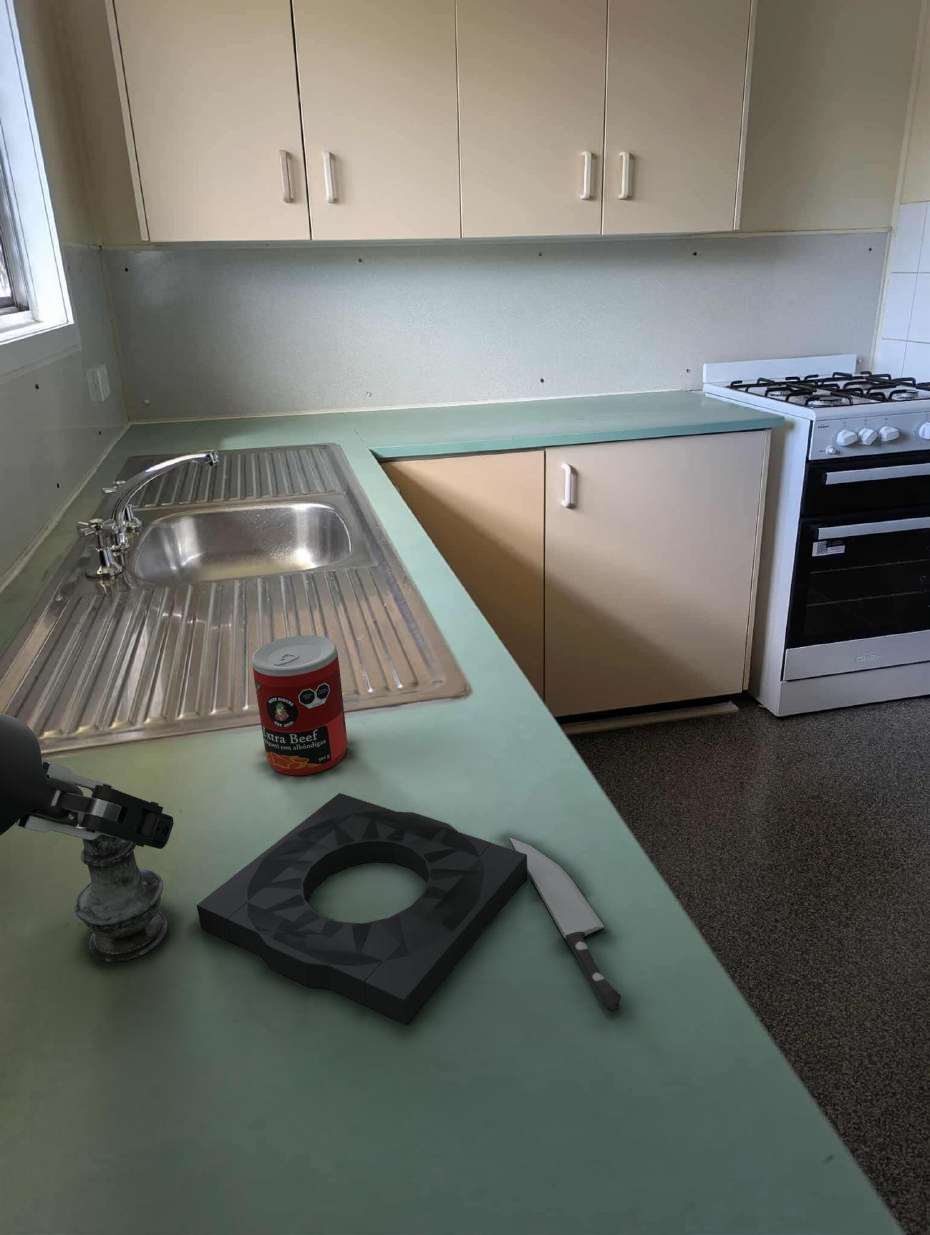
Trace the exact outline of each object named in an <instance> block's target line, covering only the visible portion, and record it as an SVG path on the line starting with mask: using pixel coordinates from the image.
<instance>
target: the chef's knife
mask: <svg viewBox="0 0 930 1235" xmlns="http://www.w3.org/2000/svg"><path fill="white" fill-rule="evenodd" d="M509 840H510V843H511V844H512V846H513V848H514V850H515V851H518V852H521V853H524V854H527V874H528V876H529V877H530V880H531V881H532V883H533V885H534V887H535V888H536V891H537V892H538V894H539V895H540V897H541V899H542V901H543V903H544V904H545V906H546V908H547V910H548V912H549V913H550V915H551V917H552V918H553V921H554V922H555V924H556V926H557V927H558V930H559V931H560V933H561V934H562V937H563V938H564V940H565V941H566V943H567V944H568V946H569V948H570V950H571V951H572V952H573V954H574V955H575V957H576V959H577V961H578V962H579V964H580V966H581V968H582V970H583V972H584V974H585V975H586V977H587V979H588V980H589V982H590V984H591V986H592V987H593V989H594V991H595V992H596V994H597V996H598V998H599V1000H600V1001H601V1003H602V1005H603V1006H604V1008H605V1009H607V1011H608V1012H615V1011H616V1010H618V1009H619V1007H620V1004H621V998H622V995H621V994H620V993H619V992H618V991H617V990H615V989H614V987H613V986H612V985H611V984H610V983H609V981H608V980H607V979H606V978H605V977H604V976H603V974H602V973H601V970H600V969H599V967H598V965H597V963H596V962H595V960H594V957H593V955H592V954H591V950H590V949H589V947H588V945H587V944H586V941H585V940H584V937H587V936H588V935H591V934H594V933H595V932H597V931H600V930H601V929H604V928H605V925H604V924H603V923H602V921H601V920H600V918H599V916H598V915H597V914H596V913H595V911H594V909H593V908H592V906H591V905H590V904H589V903H588V901H587V900H586V898H585V897H584V895H583V894H582V892H581V891H580V889H579V888H578V886H577V885H576V884H575V882H574V881H573V879H572V878H571V877H570V876H569V874H568V873H567V872H566V871H565V870H564V869H563V868H562V867H561V866H560V865H559V864H557V863H556V862H555V861H553V860H551V859H550V858H549V857H548V856H546V855H544V854H543V853H542V852H540V851H539V850H537V848H534V847H533V846H531V845H529V844H528V843H525V842H522V841H520V840H517V839H515V838H512V837H509Z"/></svg>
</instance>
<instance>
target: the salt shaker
mask: <svg viewBox="0 0 930 1235" xmlns="http://www.w3.org/2000/svg"><path fill="white" fill-rule="evenodd" d="M92 794H93V793H92V792H91V795H90V796H89V797H91V796H92ZM91 798H93V797H91ZM84 815H85V814H81V813H79V814H78V827H79V826H80V825H81V823H82V820H83V817H84ZM81 840H82V844H83V848H82V850H81V852H80V856H79V858H80V860H81V862H82V863H83V864H84V865H86V866H87V868H88V872H89V876H90V882H89V883H88V884H86V885H85V886H84V887H83V888H82V890H80V892H79V893H78V895H77V896H76V899H75V901H74V906H73V910H74V912H75V915H76V917H77V918H78V919H79V920H81V921H82V923H83V924H84V925H85V926H86V927H87V928H88V929H89V930H90V931H91V932H92V934H91V936H90V938H89V942H88V948H89V950H90V953H91V954H92V955H93V957H95V959H97V960H100V961H102V962H108V963H118V962H119V963H120V962H121V963H122V962H126V961H129V960H133V959H136V958H139V957H141V956H143V955H145V954H147V953H148V952H150V951H152V950H153V949H154V948H155V947H156V946H158V945H159V944H160V943H161V941H162V940H163V939H164V937H165V936H166V933H167V932H168V928H169V927H168V925H169V924H168V923H169V922H168V920H167V918H166V916H165V915H164V914H163V913H162V912H161V911H159V908H160V904H161V901H162V900H161V899H162V893H163V891H164V880H163V878H162V875H161V874H159V872H156V871H155V870H153V869H150V868H147V867H140V866H138V864H137V861H136V855H135V851H134V850H135V849H136V847H137V845H136V843H135V842H128V841H127V844H126V843H122V842H119V840H120V839H116V838H113V837H109V836H105V835H99V836H98V837H97V838H96V839H94V840H87V839H82V838H81Z"/></svg>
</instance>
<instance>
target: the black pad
mask: <svg viewBox="0 0 930 1235" xmlns="http://www.w3.org/2000/svg"><path fill="white" fill-rule="evenodd" d="M373 862H375V863H376V862H377V863H378V862H379V863H389V864H391V863H392V864H393V863H394V864H397V865H400V866H403V867H405V868H408V869H411V870H413V871H415V872H416V874H417V875H419V876H420V877H421V878H422V879H423V880H424V881H426V886H425V889H424V891H423V893H421V894H420V896H418V898H417V899H416V900H415V901H414V902H413V903H412V904H411V905H410V906H409V907H407V908H404V909H402V910H400V911H399V912H397V913H395V914H393V915H391V916H389V917H385V918H381V919H375V920H371V921H366V922H354V921H339V920H338V921H337V920H336V919H332V918H330V917H328V916H325V915H323V914H322V913H321V914H320V913H319V912H316V910H315V909H314V908H313V907H312V906H311V905H310V903H309V900H310V897H311V896H312V893H313V891H314V889H315V888H316V887H317V886H319V885H320V884H321V883H322V882H323V881H324V880H326V879H327V878H328V877H329V876H330V875H333V874H334V873H337V872H340V871H341V870H343V869H345V868H347V867H350V866H356V865H360V864H367V863H373ZM528 876H529V874H528V872H527V854H524V853H521V852H518V851H516V850H515V849H511V848H509V847H505V846H502V845H499V844H496V843H494V842H491V841H487V840H485V839H481V838H478V837H476V836H472V835H470V834H467V833H463V832H460V831H458V830H457V829H456V828H455V827H454V826H452V825H451V824H449V823H447V822H444V821H441V820H438V819H435V818H432V817H429V816H426V815H422V814H419V813H417V812H412V811H397V810H394V809H390V808H387V807H384V806H381V805H378V804H375V803H372V802H369V801H365V800H363V799H360V798H357V797H353V796H350V795H347V794H344V793H341V792H338V793H337V794H335V796H333V797H332V798H331V799H330V800H328V801H327V802H326V803H324V804H323V805H322V806H321V807H320V808H318V809H317V810H316V811H315V812H313V813H312V814H310V816H308V817H307V818H306V819H304V820H303V821H301V823H299V824H297V825H296V826H295V827H294V828H293V829H291V830H290V831H289V832H287V833H286V834H285V835H284V836H282V837H281V838H280V839H279V840H277V841H276V842H275V843H274V844H273V845H271V846H270V847H268V848H267V849H266V850H264V851H263V852H262V853H261V854H259V855H258V856H257V857H256V858H255V859H253V860H252V861H251V862H249V863H248V864H247V865H245V867H243V868H242V869H240V870H239V871H237V873H235V874H233V876H232V877H229V879H228V880H226V881H225V882H224V883H223V884H221V885H220V886H219V887H218V888H216V889H215V890H213V891H212V892H211V893H210V894H208V895H207V896H206V897H205V898H203V899H202V900H201V901H199V903H197V904H196V910H197V915H198V921H199V925H200V928H201V929H204V930H206V931H208V932H210V933H212V934H214V935H216V936H218V937H220V938H223V939H224V940H227V941H229V942H231V943H233V944H236V945H238V946H240V947H242V948H244V949H246V950H248V951H250V952H252V953H255V954H257V955H259V956H261V957H262V958H263V959H264V961H265V962H266V963H267V965H268V966H269V968H270V969H272V970H274V971H275V972H277V973H279V974H282V975H284V976H285V977H288V978H290V979H292V980H294V981H296V982H298V983H301V984H302V985H305V986H307V987H311V988H316V989H330V990H333V991H335V992H337V993H338V994H341V995H343V996H345V997H347V998H350V999H352V1000H354V1001H356V1002H358V1003H360V1004H362V1005H364V1006H367V1007H369V1008H371V1009H373V1010H375V1011H377V1012H379V1013H382V1014H383V1015H386V1016H387V1017H390V1018H392V1019H394V1020H396V1021H398V1022H401V1023H402V1024H404V1025H408V1024H409V1022H411V1020H412V1019H413V1017H414V1016H415V1015H416V1014H417V1013H418V1012H419V1010H420V1009H421V1007H423V1005H424V1004H425V1003H426V1001H427V1000H429V998H430V996H432V994H433V993H434V991H435V990H436V989H437V988H438V987H439V986H440V984H441V983H442V982H443V980H444V979H445V978H446V977H447V976H448V974H449V973H450V972H451V971H452V970H453V969H454V967H455V966H456V965H457V963H458V962H459V961H460V960H461V958H462V957H463V956H464V955H465V953H467V951H468V950H469V948H470V947H471V946H472V945H473V944H474V942H475V941H476V940H477V939H478V938H479V936H480V935H481V934H482V933H483V931H484V930H485V929H486V928H487V926H488V925H489V924H490V923H491V922H492V920H493V919H494V918H495V917H496V916H497V914H498V913H499V912H500V911H501V909H502V908H503V907H504V905H505V904H506V903H507V902H508V901H509V899H510V898H511V897H512V896H513V894H514V893H516V891H517V890H518V888H519V887H520V886H521V885H522V883H524V881H525V880H526V879H527V877H528Z"/></svg>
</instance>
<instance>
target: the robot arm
mask: <svg viewBox="0 0 930 1235" xmlns="http://www.w3.org/2000/svg"><path fill="white" fill-rule="evenodd" d="M42 756H43V755H42V750H41V745H40V743H39V740H38V738H37V736H36V734H35V732H34V731H33V730H32V729H31V728H30V727H29V726H28V725H27V724H26V723H25V722H23V721H22V720H20V719H18V718H16V717H13V716H12V715H11V716H10V715H8V714H6V713H3V712H1V711H0V836H2V835H4V834H5V833H6V832H7V831H8V830H10V829H11V828H12V827H13V826H14V825H15V827H18V828H22V829H26V830H30V831H34V832H38V833H48V832H55V833H59V834H63V835H67V836H71V837H74V838H78V839H81V840H82V839H87V840H94V839H96V838H97V837H98V836H99V835H105V836H109V837H113V838H116V839H120V840H119V842H122V843H126V844H127V841H128V842H135V843H136V847H141V848H144V847H145V846H147V847H150V848H154V849H158V850H163V849H164V848H165V847H166V845H167V844H168V842H169V839H170V836H171V833H172V830H173V828H174V825H175V822H174V817H173V816H172V815H169V814H166V813H163V812H164V806H161V805H159V804H160V803H158V802H155V801H148V800H145V799H142V798H140V797H137V796H134V795H131V794H129V793H126V792H124V791H121V790H119V789H115V788H114V786H112V785H110V783H109V784H108V783H105V782H102V781H99V780H96V779H91V778H89V777H85V776H81V775H78V774H75V773H73V771H72V770H71V769H70V768H69V767H67V766H64V765H60V764H57V763H53V762H50V761H45V760H43V758H42ZM80 787H81V788H84V789H87V790H89V791H91V795H92V796H91V795H90V796H91V797H93V798H91V797H90V796H85V795H84V792H83V790H82V789H81V788H80ZM92 793H93V794H92ZM79 813H81V814H85V815H84V817H83V820H82V823H81V825H80V826H79V824H78V814H79Z"/></svg>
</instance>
